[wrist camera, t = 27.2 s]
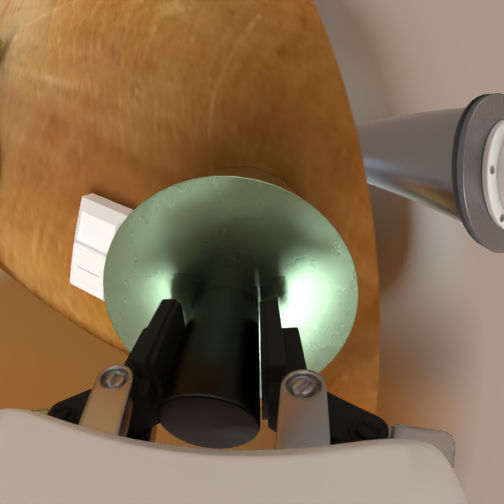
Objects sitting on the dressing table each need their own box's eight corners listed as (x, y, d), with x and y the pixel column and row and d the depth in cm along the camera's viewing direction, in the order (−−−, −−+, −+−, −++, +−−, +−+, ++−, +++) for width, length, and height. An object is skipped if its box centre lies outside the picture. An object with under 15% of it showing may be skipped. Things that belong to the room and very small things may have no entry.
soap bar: (78, 275, 25) (65, 286, 22) (92, 192, 22) (76, 198, 19) (117, 294, 25) (106, 308, 23) (137, 211, 23) (124, 219, 20)
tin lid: (359, 171, 11) (470, 208, 4) (335, 380, 16) (361, 479, 9) (93, 187, 12) (-21, 232, 5) (143, 380, 16) (108, 470, 9)
